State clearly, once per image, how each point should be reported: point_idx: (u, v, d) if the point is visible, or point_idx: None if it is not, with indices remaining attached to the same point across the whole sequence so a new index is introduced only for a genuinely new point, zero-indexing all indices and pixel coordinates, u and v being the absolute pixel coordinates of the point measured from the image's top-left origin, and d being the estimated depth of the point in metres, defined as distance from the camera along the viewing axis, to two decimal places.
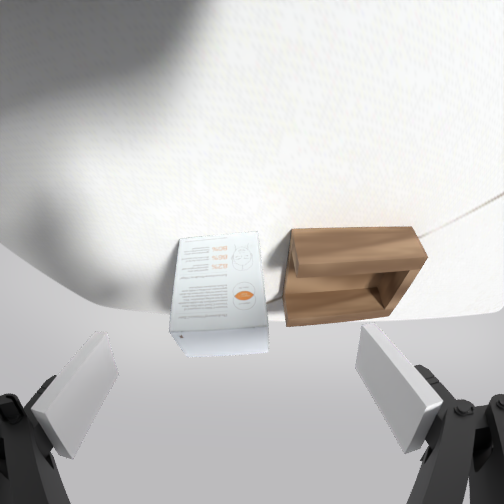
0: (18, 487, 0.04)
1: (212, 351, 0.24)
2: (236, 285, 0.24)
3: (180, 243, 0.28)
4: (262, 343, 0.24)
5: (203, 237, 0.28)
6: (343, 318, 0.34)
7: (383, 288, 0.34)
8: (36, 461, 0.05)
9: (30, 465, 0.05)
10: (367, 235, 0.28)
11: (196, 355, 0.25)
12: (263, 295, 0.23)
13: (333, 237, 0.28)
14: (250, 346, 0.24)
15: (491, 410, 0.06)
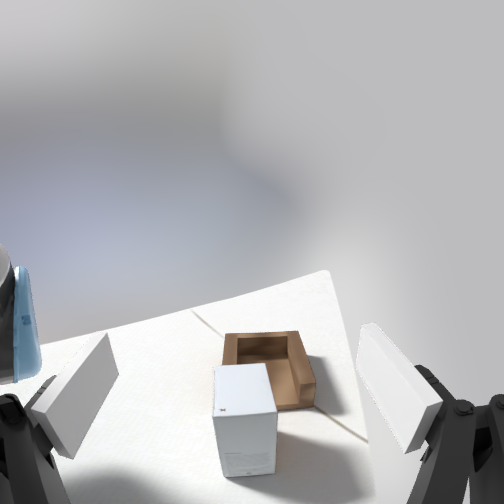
0: (18, 487, 0.04)
1: (256, 392, 0.24)
2: None
3: None
4: (242, 366, 0.28)
5: None
6: (300, 353, 0.40)
7: (277, 347, 0.46)
8: (36, 461, 0.05)
9: (30, 465, 0.05)
10: None
11: (270, 404, 0.23)
12: None
13: None
14: (247, 372, 0.27)
15: (491, 410, 0.06)
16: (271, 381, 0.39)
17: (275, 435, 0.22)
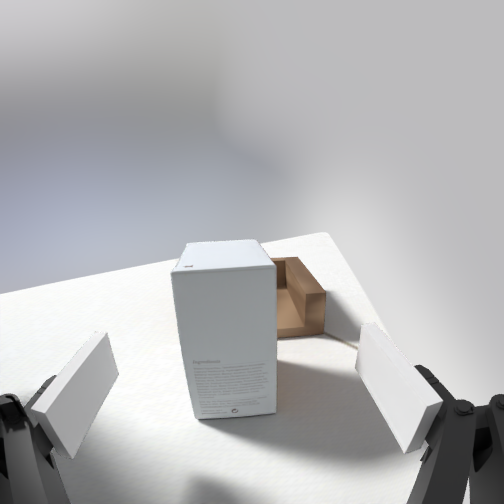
0: (18, 487, 0.04)
1: (243, 253, 0.18)
2: None
3: (193, 410, 0.17)
4: (225, 241, 0.22)
5: None
6: (302, 271, 0.34)
7: None
8: (36, 461, 0.05)
9: (30, 465, 0.05)
10: None
11: (263, 259, 0.16)
12: None
13: None
14: (231, 243, 0.21)
15: (491, 410, 0.06)
16: None
17: (274, 321, 0.16)
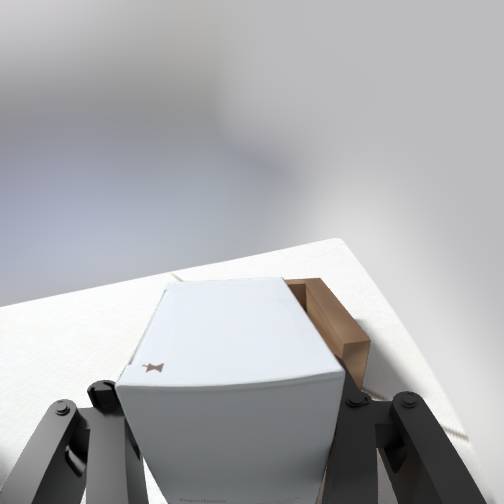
0: (96, 479, 0.05)
1: (267, 323, 0.09)
2: None
3: None
4: (230, 281, 0.13)
5: None
6: (330, 301, 0.25)
7: None
8: (125, 455, 0.06)
9: (116, 458, 0.06)
10: None
11: (313, 350, 0.07)
12: None
13: None
14: (242, 288, 0.12)
15: (395, 411, 0.08)
16: None
17: (326, 453, 0.07)
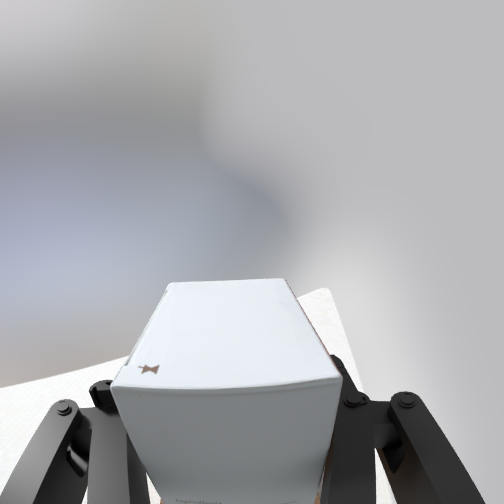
0: (97, 479, 0.05)
1: (266, 326, 0.09)
2: None
3: None
4: (232, 282, 0.13)
5: None
6: None
7: None
8: (127, 455, 0.06)
9: (118, 458, 0.06)
10: None
11: (311, 354, 0.07)
12: None
13: None
14: (243, 289, 0.12)
15: (393, 411, 0.08)
16: None
17: (322, 459, 0.07)
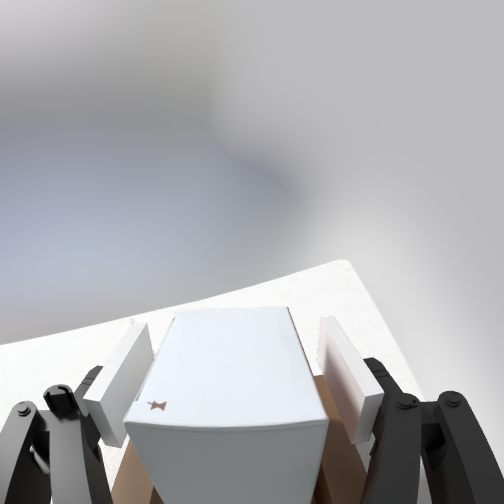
0: (59, 481, 0.04)
1: (264, 364, 0.09)
2: None
3: None
4: (236, 311, 0.13)
5: None
6: (340, 448, 0.12)
7: None
8: (83, 456, 0.06)
9: (76, 460, 0.05)
10: None
11: (303, 395, 0.07)
12: None
13: None
14: (246, 320, 0.12)
15: (440, 409, 0.07)
16: None
17: (312, 481, 0.07)
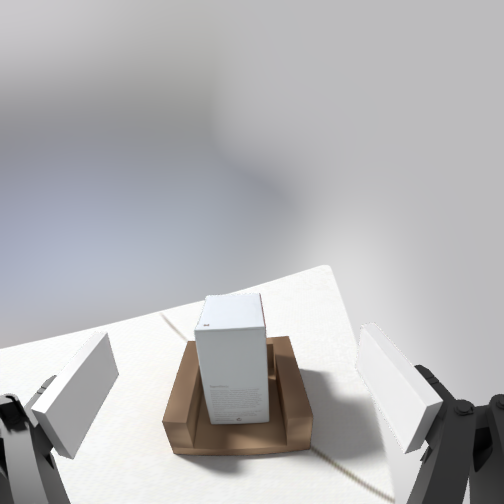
0: (18, 487, 0.04)
1: (245, 312, 0.24)
2: None
3: None
4: (235, 295, 0.28)
5: None
6: (290, 368, 0.27)
7: None
8: (36, 461, 0.05)
9: (30, 465, 0.05)
10: None
11: (258, 320, 0.22)
12: None
13: None
14: (239, 298, 0.27)
15: (491, 410, 0.06)
16: None
17: (265, 362, 0.22)
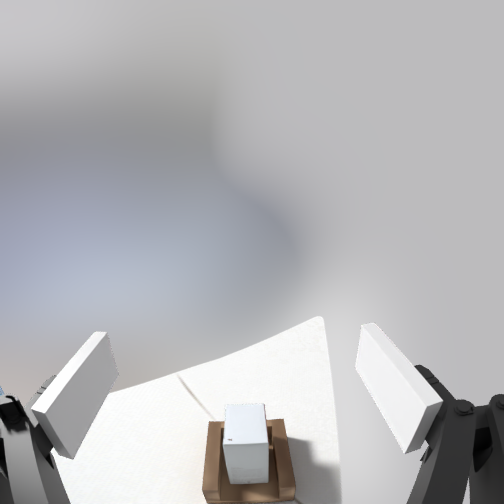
0: (18, 487, 0.04)
1: (255, 427, 0.32)
2: None
3: None
4: (246, 406, 0.36)
5: None
6: (283, 449, 0.34)
7: None
8: (36, 461, 0.05)
9: (30, 465, 0.05)
10: None
11: (263, 436, 0.30)
12: None
13: None
14: (250, 410, 0.35)
15: (491, 410, 0.06)
16: None
17: (267, 457, 0.30)
